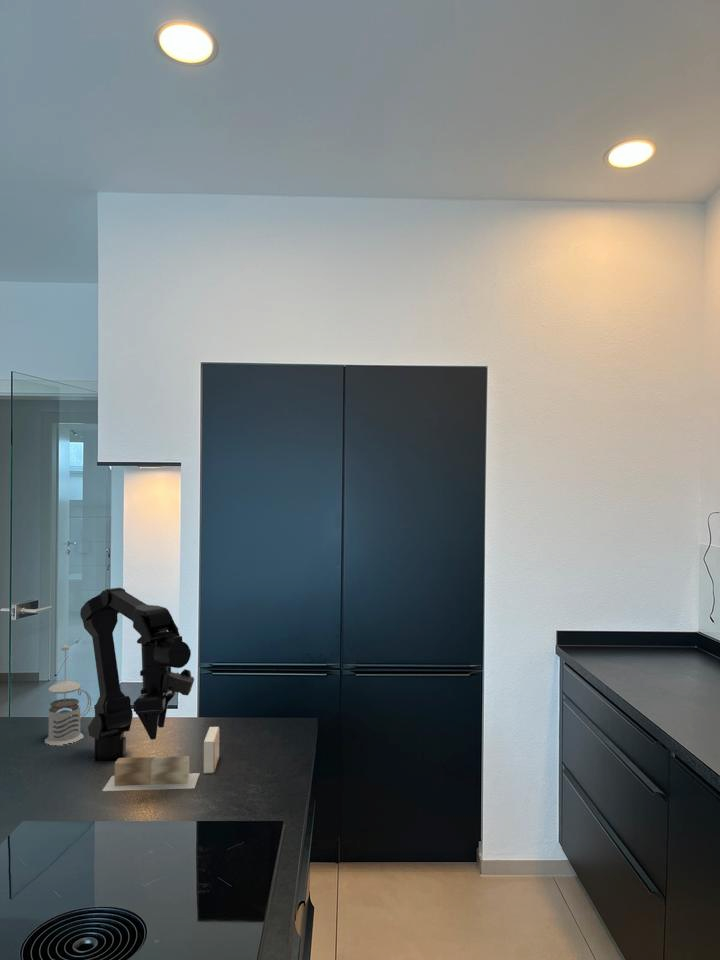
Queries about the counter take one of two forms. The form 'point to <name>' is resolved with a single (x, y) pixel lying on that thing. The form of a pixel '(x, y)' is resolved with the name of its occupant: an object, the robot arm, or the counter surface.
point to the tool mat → (191, 784)
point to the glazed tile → (211, 750)
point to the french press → (65, 713)
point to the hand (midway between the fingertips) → (157, 733)
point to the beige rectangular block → (152, 770)
